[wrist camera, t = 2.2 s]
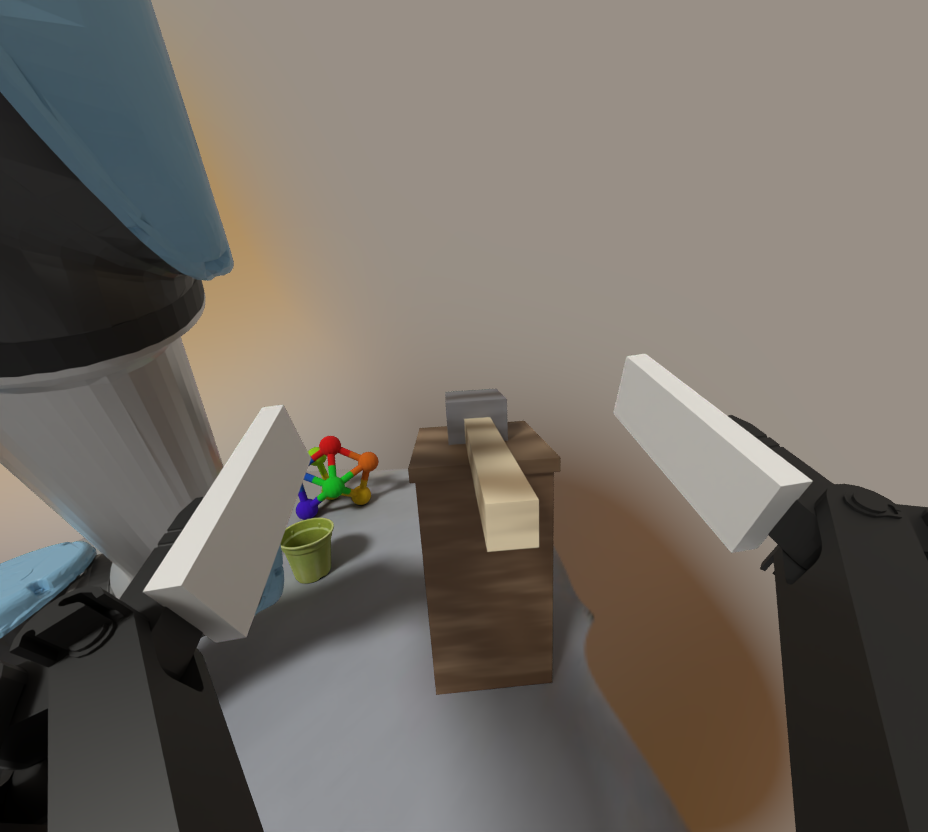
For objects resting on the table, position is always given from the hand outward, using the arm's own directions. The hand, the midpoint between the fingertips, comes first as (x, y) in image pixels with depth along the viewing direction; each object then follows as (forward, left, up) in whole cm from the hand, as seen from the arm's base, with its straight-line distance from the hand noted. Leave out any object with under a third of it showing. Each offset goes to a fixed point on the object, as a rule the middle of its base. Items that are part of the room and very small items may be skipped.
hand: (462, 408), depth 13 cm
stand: (-20, +15, -38) cm, 46 cm away
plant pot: (-50, -3, -39) cm, 63 cm away
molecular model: (-72, +6, -39) cm, 82 cm away
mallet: (-14, +11, -9) cm, 20 cm away
